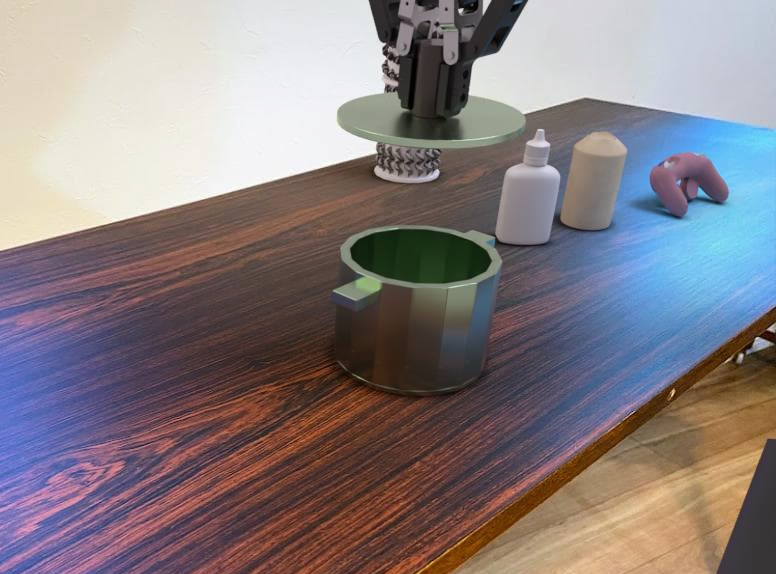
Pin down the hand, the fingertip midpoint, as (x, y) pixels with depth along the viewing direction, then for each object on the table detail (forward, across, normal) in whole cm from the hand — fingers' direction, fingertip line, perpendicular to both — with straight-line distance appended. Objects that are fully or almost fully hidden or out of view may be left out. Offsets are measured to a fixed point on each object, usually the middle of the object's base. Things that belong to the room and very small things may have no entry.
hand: (430, 110), depth 67 cm
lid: (+1, 0, 0) cm, 1 cm away
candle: (+21, +5, -40) cm, 45 cm away
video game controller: (+21, 0, -54) cm, 58 cm away
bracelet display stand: (+21, +30, -39) cm, 54 cm away
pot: (+21, -1, 0) cm, 21 cm away
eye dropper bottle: (+21, +7, -30) cm, 37 cm away
